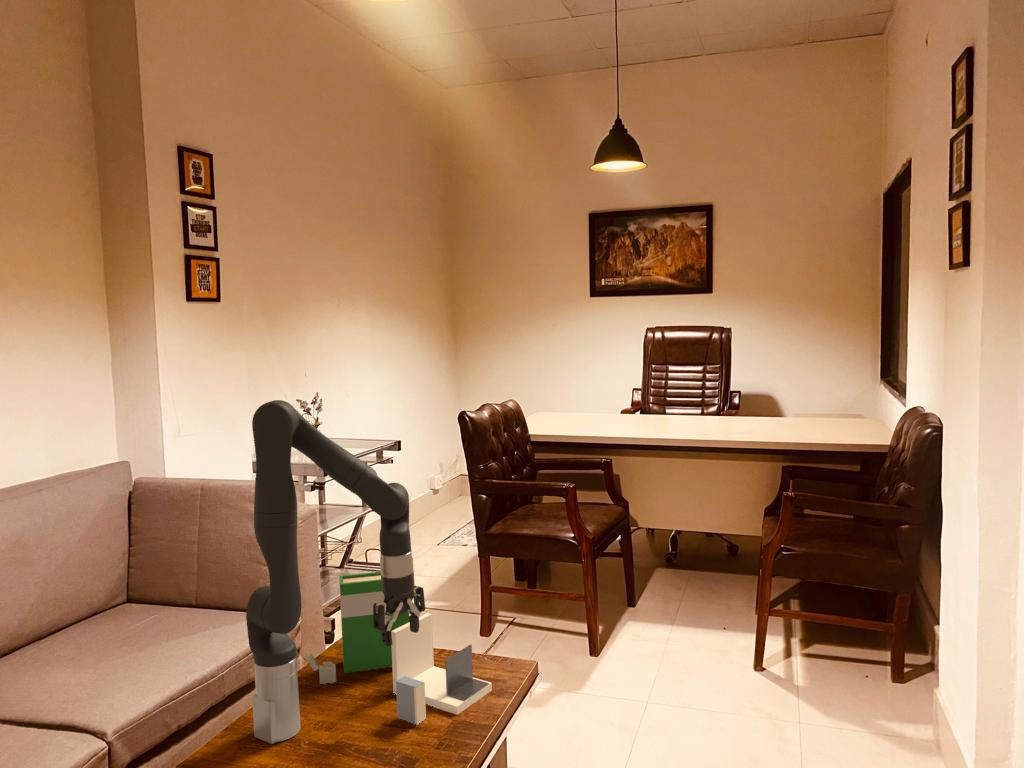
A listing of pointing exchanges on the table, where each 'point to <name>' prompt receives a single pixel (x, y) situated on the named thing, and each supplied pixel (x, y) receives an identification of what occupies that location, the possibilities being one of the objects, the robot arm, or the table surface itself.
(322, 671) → the lighter
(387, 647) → the hardback book
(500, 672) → the table surface
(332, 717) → the table surface
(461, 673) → the bookend
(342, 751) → the table surface
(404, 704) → the small book
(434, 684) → the shelf
